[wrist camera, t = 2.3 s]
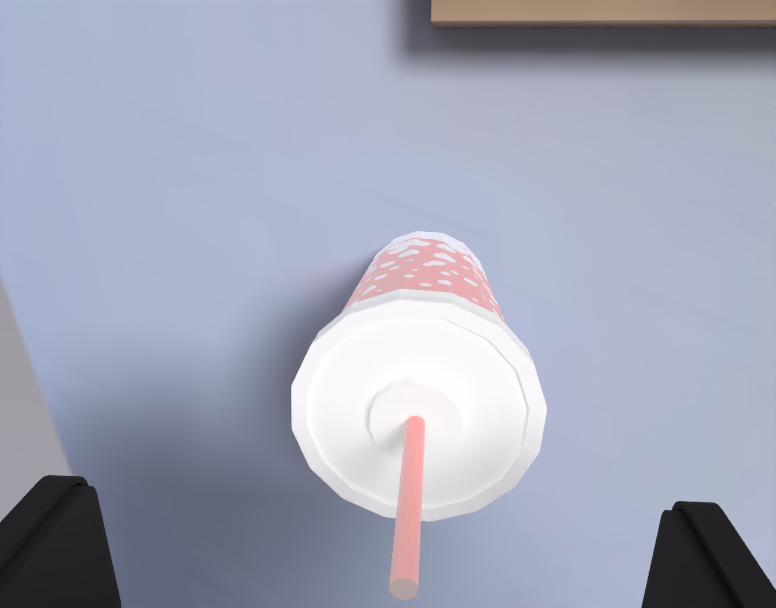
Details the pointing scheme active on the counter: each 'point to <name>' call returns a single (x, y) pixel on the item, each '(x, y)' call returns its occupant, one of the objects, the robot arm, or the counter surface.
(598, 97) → the counter surface
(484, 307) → the beverage cup
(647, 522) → the counter surface
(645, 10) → the walnut base
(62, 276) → the counter surface
